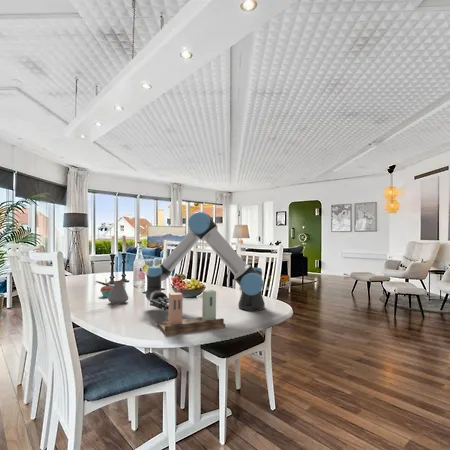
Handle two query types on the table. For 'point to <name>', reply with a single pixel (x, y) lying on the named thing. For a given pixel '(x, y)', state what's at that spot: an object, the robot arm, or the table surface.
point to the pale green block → (209, 305)
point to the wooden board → (190, 326)
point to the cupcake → (106, 290)
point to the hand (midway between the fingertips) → (172, 309)
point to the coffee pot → (117, 292)
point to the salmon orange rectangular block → (175, 308)
